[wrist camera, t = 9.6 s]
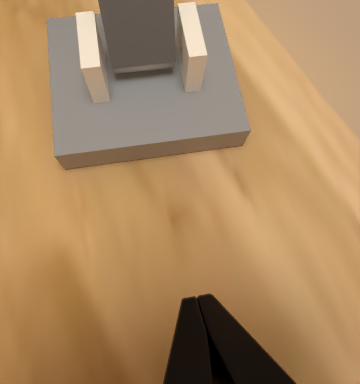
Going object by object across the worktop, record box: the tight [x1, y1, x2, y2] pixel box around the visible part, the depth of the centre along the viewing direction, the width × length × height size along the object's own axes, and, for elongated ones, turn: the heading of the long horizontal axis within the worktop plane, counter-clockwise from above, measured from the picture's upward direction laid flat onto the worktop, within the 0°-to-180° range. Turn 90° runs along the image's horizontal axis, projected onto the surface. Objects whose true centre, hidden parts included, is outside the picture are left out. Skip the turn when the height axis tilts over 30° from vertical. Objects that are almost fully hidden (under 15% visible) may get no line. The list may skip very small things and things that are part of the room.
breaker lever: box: [98, 0, 176, 74], centre depth 20 cm, size 2×5×9 cm, turn 100°
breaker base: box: [47, 2, 251, 169], centre depth 24 cm, size 12×14×6 cm
